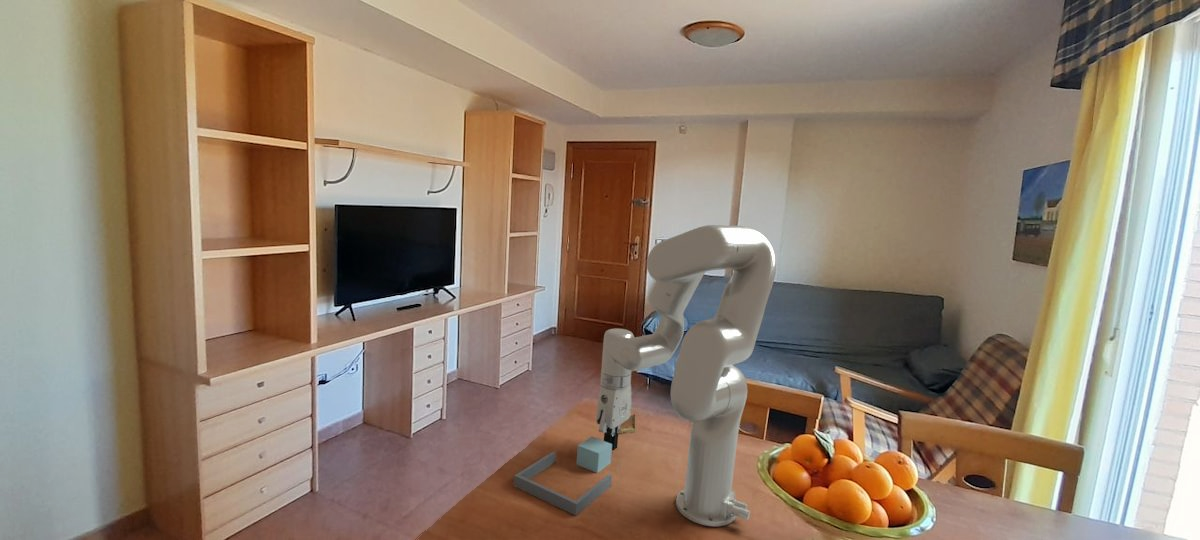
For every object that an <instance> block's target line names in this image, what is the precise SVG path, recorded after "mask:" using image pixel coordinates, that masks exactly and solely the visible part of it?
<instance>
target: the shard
mask: <svg viewBox="0 0 1200 540" xmlns="http://www.w3.org/2000/svg"><path fill="white" fill-rule="evenodd" d="M625 432H626V433H631V432H633V433H636V414H635V413H634V414H631V415H630V417H629V419H627V420H626V421H625V422H623V423H622V424H621V425H620V431H619V433H618V434H624V433H625ZM626 433H625V434H626Z"/></svg>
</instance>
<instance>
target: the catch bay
mask: <svg viewBox="0 0 1200 540" xmlns="http://www.w3.org/2000/svg"><path fill="white" fill-rule="evenodd" d="M556 458H557V452H556V451H554V450H553V451H551V452H550V453H548V454H546V455H545V456H543V457H541V458H540V459H539V460H537V461H535V462H533V463H532V464H530V465H529V466H527V467H526V468H524V469H522V470H521V471H519V472H517V473H516V474H514V477H513V487H515V488H517V489H519V490H522V491H523V492H526V493H527V494H530V495H532V496H534V497H536V498H537V499H539V500H540V499H541V500H542V501H545V502H546V503H548V504H550V505H553V506H555V507H557V508H559V509H561V510H562V511H565V512H568V513H569V514H571V515H574V516H577V515H579V514H580V513H581V512H582V511H583V510H584V509H586V508H587V507H588V506H589V505H590V504H592V502H594V501H595V500H596V499H597V498H599V496H601V495H602V494H603V493H605V492H606V491H607V490H608V489H609V488H610V487H611V486H612V479H613V475H612V474H610V473H609V474H607V475H606V476H605V477H604V478H602V479H601V480H600V481H598V483H595V485H593V486H592V487H591V488H590V489H589V490H587V491H586V492H585V493H583V494H582V495H581V496H580V497H578V498H577V499H576V500H574V499H573V498H570V497H569V496H566V495H564V494H562V493H560V492H557V491H555V490H553V489H550V488H549V487H546V486H545V485H543V484H540V483H538V482H536V481H533V480H531V478H534V477H535V476H537V474H539V473H541V472H542V471H544V470H545V469H547V468H548V467H551V466H552V465H553V464H555V463H556Z"/></svg>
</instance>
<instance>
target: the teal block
mask: <svg viewBox="0 0 1200 540" xmlns="http://www.w3.org/2000/svg"><path fill="white" fill-rule="evenodd" d="M612 451H613V450H612V444H611V443H608V442H605V441H604V439H600V438H597V437H594V436H590V437H589V438H587V439H585V440H584V441H582V442H581V443H580V444H577V451H576V452H577V453H576V466H580V467H582V468H584V469H587V470H589V471H592V472H594V473H596V474H598V473H599V472H601V471H603V469H605V468H606V467H607V466H609V465H610V464H611V463H612Z"/></svg>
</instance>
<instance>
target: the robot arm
mask: <svg viewBox="0 0 1200 540" xmlns="http://www.w3.org/2000/svg"><path fill="white" fill-rule="evenodd" d="M646 267H647V268H646V269H647V272H648V274H649V276H650V277H651V278H652V279H653V280H654V281H655V283H654V285H653V287H652V289H651V291H650V293H649V294H648V302H649V305H650V306H651V307H652V309H653V310H654V311H656V312H657V313H658V314H660V315H661V318H660V319H659V320H660V321H659V322H658V325H657V326H656V328H655V330H654V332H653V333H652V334H647V335H641V336H636V337H635V335H634V334H633V332H632V331H630V330H628V329H625V328H610V329H608V330H606V331H605V332H604V335H603V345H602V355H601V357H602V358H601V369H600V388H599V393H598V398H597V399H598V400H597V405H596V416H595V417H596V419H595V420H596V424H598V425H599V427H598V432H600V433H603V441H605V442H608V443H611V444H612V451H615V450H616V449H618V444H619V434H620V433H619V431H620V425H621V424H622V423H623V422H625V421H626V420H627V419H629V417H630V416H631V415H632V414H631V412H632V384H631V382H632V381H631V380H632V372H636V371H641V370H646V369H649V368H651V367H656V366H659V365H660V366H661V365H664V364H665V363H667V362H668V361H669V360H670V359H671V358H672V357H673V355H674V354H675V352H676V350H677V349H678V347H679V345H680V344H681V346H680V347H679V348H680V349H679V353H678V356H677V361H676V364H675V369H674V372H673V377H672V380H671V385H670V401H671V405H672V408H673V409H674V411H675V413H676V415H678V416H679V417H680V418H681V419H683V420H684V421H687V422H691V428H690V435H689V447H688V452H687V453H688V455H687V465H686V472H685V473H686V474H685V475H686V476H685V484H684V488H683V489H682V490H680V491H679V492H678V493H677V495H676V499H675V506H676V508H677V510H678V511H679V512H680V514H681V515H682V516H683V517H684V518H686V519H688V520H690V521H692V523H696V524H699V525H702V526H708V527H722V526H726V525H727V526H728V525H729V524H732V523H733V522H734V521H735V519H736V518H737V517H738V518H740V519H742V520H745V521H748V522H749V519H750V515H751V510H749V509H748V503H745V502H743V501H739V500H737V498H735V496H736V491H735V490H734V489H732V488H733V487H732V486H733V478H734V471H735V462H736V456H737V454H736V453H737V445H738V438H739V437H738V436H739V430H740V424H741V420H742V417H743V413H744V409H745V405H746V402H747V398H748V384H747V380H746V377H745V376H744V373H743V372H742V371H741V370H740V369H739V368H738V367H736V366H735V365H736V364H739V363H742V362H744V361H746V360H747V359H749V358H750V356H751V355H752V354H753V351H754V348H755V345H756V342H757V338H758V334H759V332H760V328H761V325H762V321H763V318H764V314H765V310H766V306H767V303H768V299H769V297H770V294H771V291H772V288H773V284H774V282H775V279H776V278H775V277H776V272H777V256H776V254H775V250H774V248H773V246H772V244H771V242H770V241H769V240H768V239H767V238H766V236H765V235H763V233H761V232H760V231H758V230H756V229H754V228H752V227H749V226H742V225H734V224H733V225H721V224H719V225H717V224H712V225H711V224H709V225H707V224H706V225H703V226H699V227H696V228H693V229H690V230H688V231H686V232H682V233H680V234H677V235H675V236H672V237H669V238H668V239H664V240H662V241H660V242H658V243H657V244H656V245H655V246H653V247H652V248H651V250H650V252H649V254H648V256H647V260H646ZM731 269H732V270H733V273H732V275H731V277H730V279H729V280H728V282H727V283H726V285H725V287H724V289H723V291H722V294H721V298H720V302H719V305H718V308H717V312H716V313H715V315H714V317H712V318H709V319H705V320H701V321H700V320H699V321H698V322H695V324H693V325H691V327H690V328H689V329H688V330H687V331H686V333H685V316H684V312H685V310H686V309H687V307H688V305H689V303H690V301H691V299H692V297H693V295H694V294H695V292H696V289H697V288H698V286H699V284H700V282H701V281H702V278H703V277H704V275H705V273H706V272H711V271H720V270H731ZM684 333H685V335H684Z"/></svg>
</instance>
